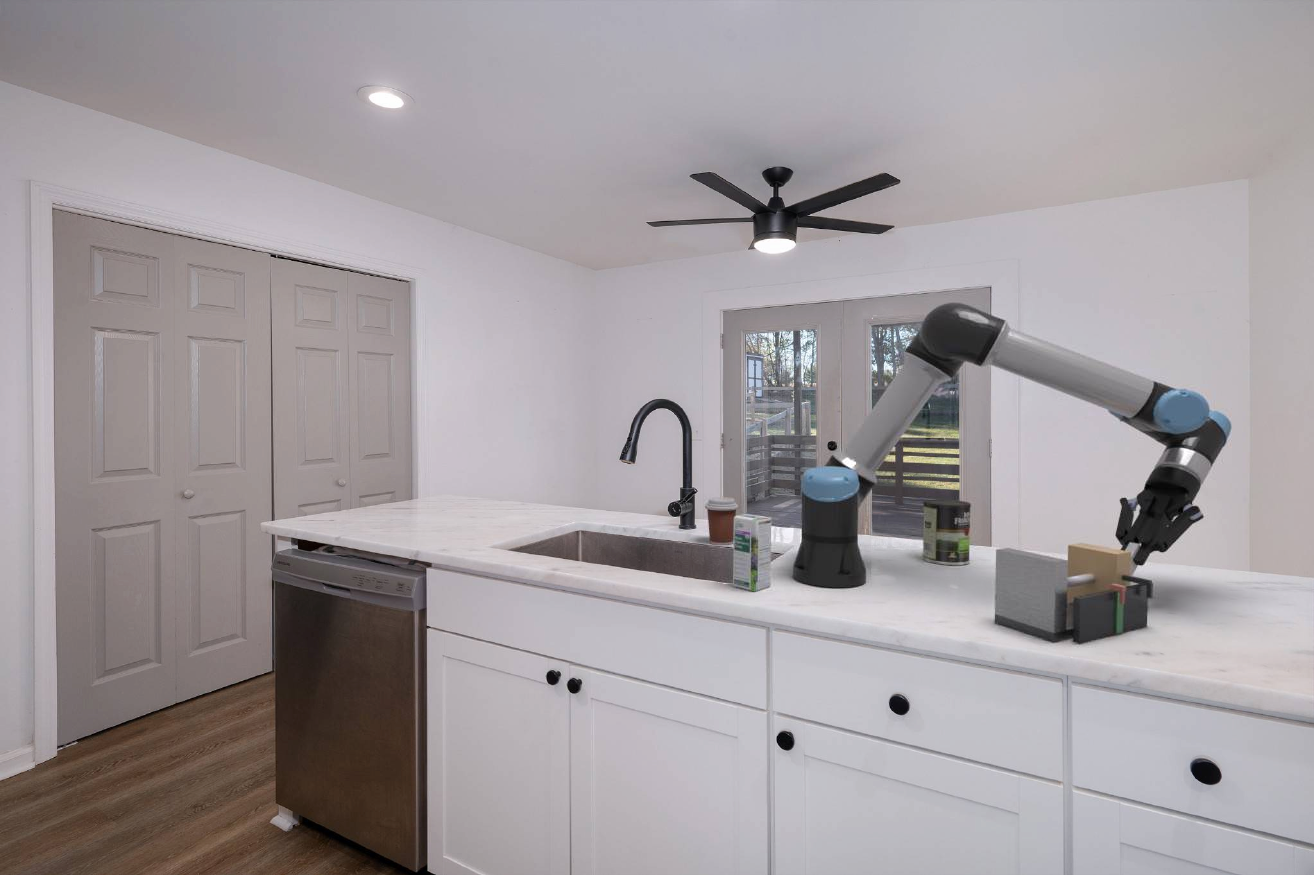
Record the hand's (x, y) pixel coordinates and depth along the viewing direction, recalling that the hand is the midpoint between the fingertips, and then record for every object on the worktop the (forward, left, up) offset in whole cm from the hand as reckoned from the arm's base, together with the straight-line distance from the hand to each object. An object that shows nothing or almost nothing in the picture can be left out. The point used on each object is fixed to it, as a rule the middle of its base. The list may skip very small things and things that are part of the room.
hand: (1121, 575), depth 111 cm
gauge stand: (-8, -13, -6) cm, 16 cm away
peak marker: (-2, -15, -1) cm, 16 cm away
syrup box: (-63, -18, -7) cm, 66 cm away
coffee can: (-31, +26, -7) cm, 41 cm away
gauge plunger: (-4, -9, -5) cm, 11 cm away
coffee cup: (-86, +18, -7) cm, 88 cm away
